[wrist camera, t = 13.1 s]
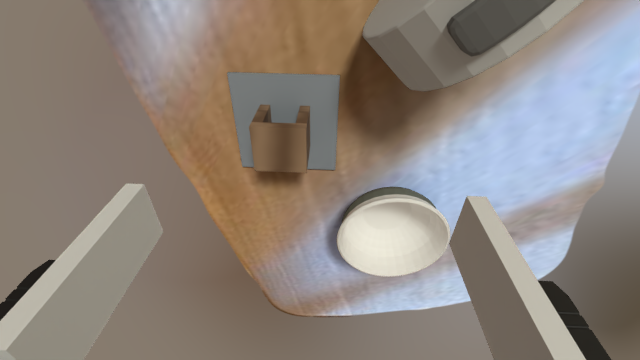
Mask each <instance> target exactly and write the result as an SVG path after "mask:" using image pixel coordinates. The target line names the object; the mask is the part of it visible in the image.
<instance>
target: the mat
mask: <svg viewBox="0 0 640 360" xmlns="http://www.w3.org/2000/svg"><path fill="white" fill-rule="evenodd" d="M227 74H228V81H229V87H230V93H231V99H232V105H233V111H234V118H235V124H236V130H237V136H238V142H239V148H240V154H241V161H242V167H254V161H253V154H252V146H251V139H250V131H249V126H250V124H251V122H252V120H253V118H254V116H255V114H256V112H257V110H258V108H259V106H260V104H262V105H270V108H271V120H272V123H296V120H297V116H298V112H299V108H300V106H310V152H309V160H308V167H307V169H324V170H335V163H336V142H337V122H338V102H339V81H340V75H316V74H278V73H239V72H228V73H227Z"/></svg>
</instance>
